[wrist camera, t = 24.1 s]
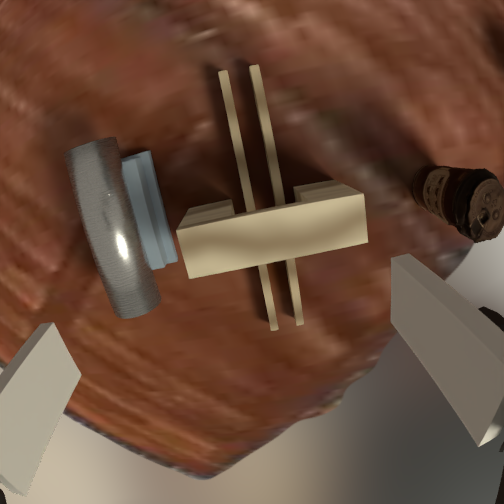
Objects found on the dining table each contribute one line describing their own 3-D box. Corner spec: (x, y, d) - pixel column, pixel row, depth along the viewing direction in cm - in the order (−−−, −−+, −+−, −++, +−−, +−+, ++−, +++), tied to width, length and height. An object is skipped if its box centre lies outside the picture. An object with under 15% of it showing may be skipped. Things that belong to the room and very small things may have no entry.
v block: (79, 172, 36) (67, 176, 33) (150, 150, 36) (142, 151, 32) (109, 272, 41) (100, 284, 37) (178, 258, 41) (173, 269, 37)
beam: (162, 88, 33) (140, 74, 24) (312, 61, 33) (336, 40, 24) (222, 332, 45) (221, 376, 36) (346, 306, 44) (370, 344, 36)
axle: (78, 152, 32) (54, 155, 27) (123, 136, 32) (104, 137, 27) (122, 297, 39) (108, 321, 33) (165, 289, 39) (156, 313, 33)
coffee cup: (404, 221, 41) (460, 254, 28) (400, 160, 38) (461, 174, 25) (452, 212, 40) (510, 240, 28) (450, 156, 38) (513, 169, 25)
